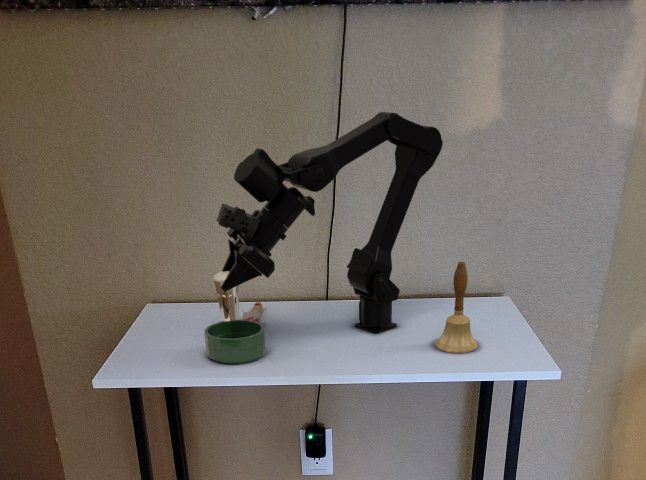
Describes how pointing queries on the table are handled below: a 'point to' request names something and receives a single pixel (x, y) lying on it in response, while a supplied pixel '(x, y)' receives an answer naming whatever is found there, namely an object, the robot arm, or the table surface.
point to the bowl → (235, 341)
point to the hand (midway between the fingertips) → (221, 286)
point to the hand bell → (458, 320)
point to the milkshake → (227, 299)
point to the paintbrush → (254, 313)
